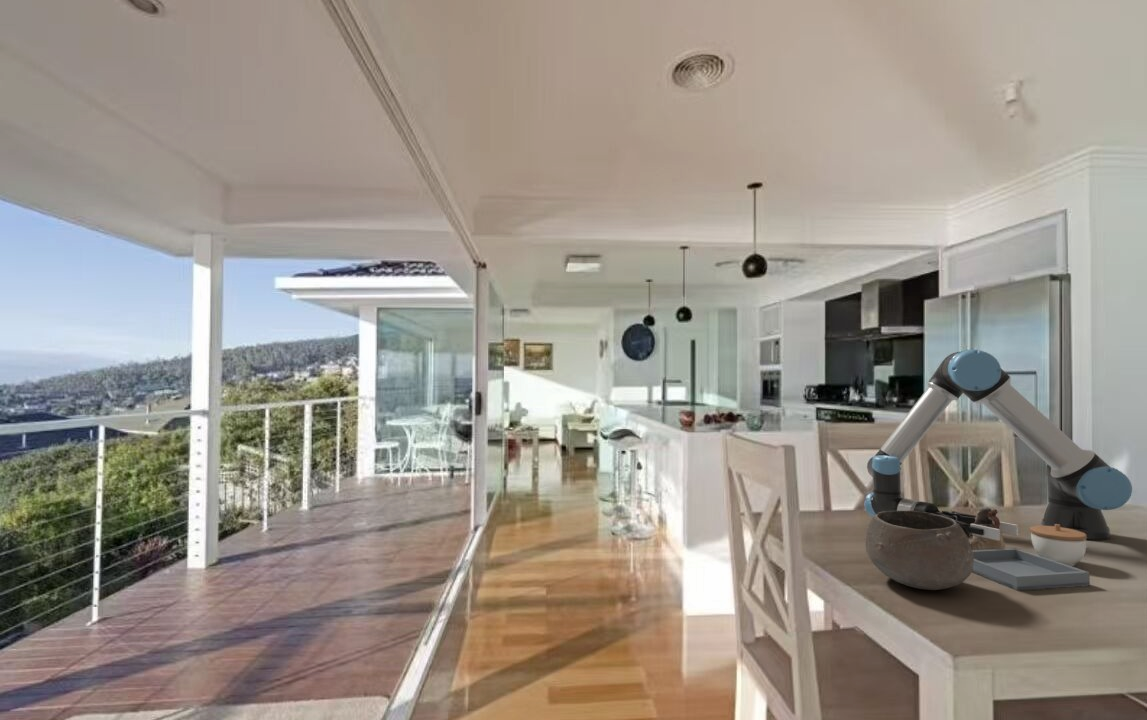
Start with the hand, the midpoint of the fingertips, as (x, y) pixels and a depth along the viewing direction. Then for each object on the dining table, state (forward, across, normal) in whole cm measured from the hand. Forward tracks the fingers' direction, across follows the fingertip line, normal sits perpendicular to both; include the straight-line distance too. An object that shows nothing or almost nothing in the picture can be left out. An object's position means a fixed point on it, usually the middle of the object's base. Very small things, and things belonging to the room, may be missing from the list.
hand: (1008, 532), depth 143 cm
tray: (+7, +12, -6) cm, 15 cm away
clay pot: (0, +38, -7) cm, 38 cm away
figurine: (-5, 0, -7) cm, 8 cm away
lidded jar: (+7, -7, -7) cm, 12 cm away
